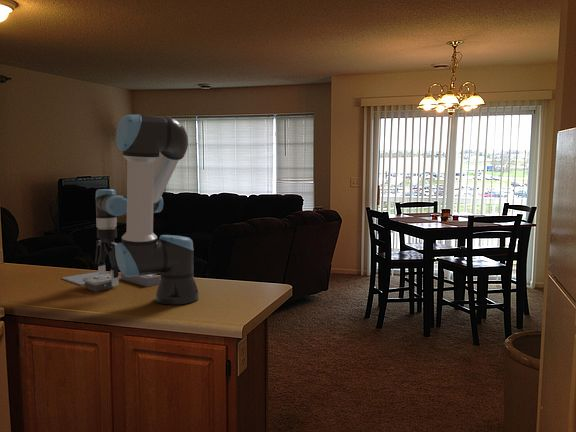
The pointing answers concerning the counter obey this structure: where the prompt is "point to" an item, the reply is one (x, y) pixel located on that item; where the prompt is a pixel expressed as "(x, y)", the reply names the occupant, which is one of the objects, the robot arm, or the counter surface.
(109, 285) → the electrical switch
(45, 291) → the counter surface
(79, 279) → the mat
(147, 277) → the power strip
